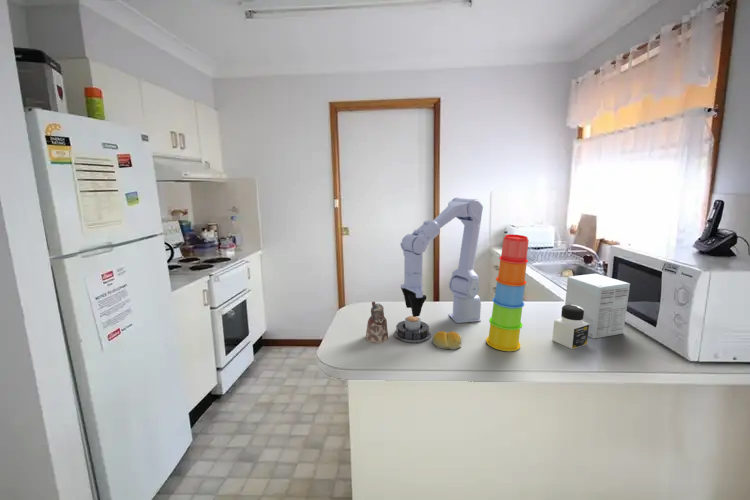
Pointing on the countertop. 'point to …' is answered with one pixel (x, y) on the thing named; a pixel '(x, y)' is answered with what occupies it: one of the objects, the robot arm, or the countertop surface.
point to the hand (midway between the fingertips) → (412, 311)
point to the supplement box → (599, 302)
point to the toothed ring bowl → (412, 333)
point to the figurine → (377, 325)
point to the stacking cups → (509, 295)
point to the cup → (412, 323)
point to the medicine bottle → (571, 327)
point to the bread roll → (447, 340)
